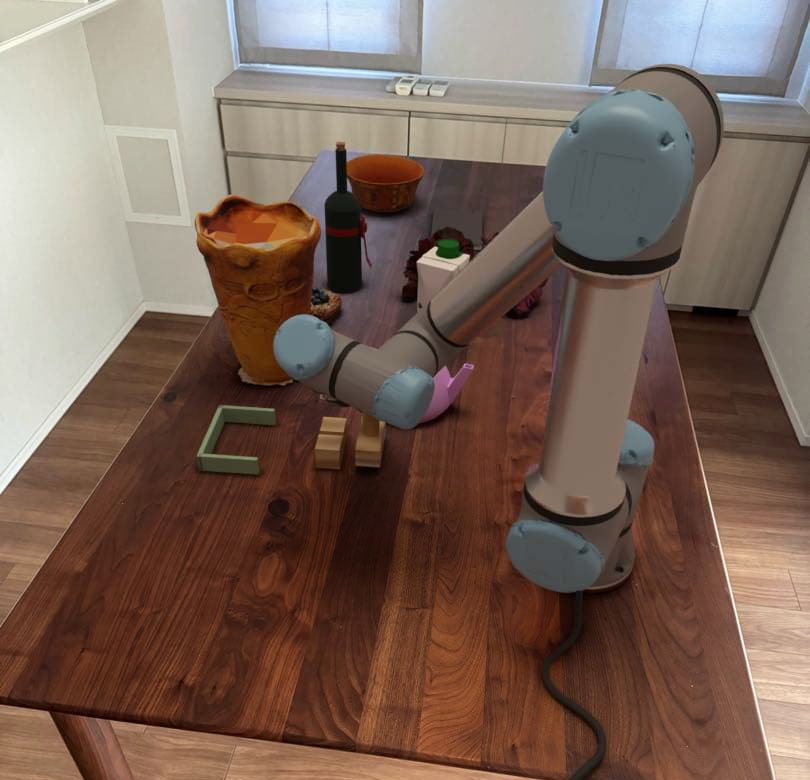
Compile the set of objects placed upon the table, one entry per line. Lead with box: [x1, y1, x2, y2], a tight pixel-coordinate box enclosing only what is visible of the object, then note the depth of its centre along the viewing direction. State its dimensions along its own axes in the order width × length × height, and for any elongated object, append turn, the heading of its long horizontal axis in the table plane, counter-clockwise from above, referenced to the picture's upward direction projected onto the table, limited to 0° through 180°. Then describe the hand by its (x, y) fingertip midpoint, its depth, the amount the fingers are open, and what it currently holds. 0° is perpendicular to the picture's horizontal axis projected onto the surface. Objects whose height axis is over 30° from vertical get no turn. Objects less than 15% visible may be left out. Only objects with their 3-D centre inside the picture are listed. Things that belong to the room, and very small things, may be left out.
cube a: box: [314, 433, 344, 470], centre depth 131 cm, size 4×4×4 cm
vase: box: [194, 194, 322, 387], centre depth 141 cm, size 21×20×30 cm
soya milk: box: [416, 239, 470, 313], centre depth 154 cm, size 9×9×20 cm
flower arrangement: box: [401, 226, 550, 319], centre depth 171 cm, size 31×20×15 cm, turn 82°
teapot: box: [370, 346, 475, 424], centre depth 141 cm, size 22×16×12 cm
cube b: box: [319, 416, 348, 452], centre depth 134 cm, size 4×4×4 cm
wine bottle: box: [323, 141, 373, 294], centre depth 168 cm, size 8×10×30 cm
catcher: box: [196, 404, 277, 476], centre depth 134 cm, size 15×10×3 cm
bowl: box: [347, 153, 426, 213], centre depth 208 cm, size 21×21×10 cm
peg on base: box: [354, 412, 387, 468], centre depth 128 cm, size 10×4×14 cm, turn 175°
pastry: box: [310, 286, 343, 328], centre depth 166 cm, size 11×12×6 cm
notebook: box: [430, 208, 483, 252], centre depth 200 cm, size 13×2×21 cm
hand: (379, 411), depth 132 cm, fingers closed on peg on base, 3 cm apart
